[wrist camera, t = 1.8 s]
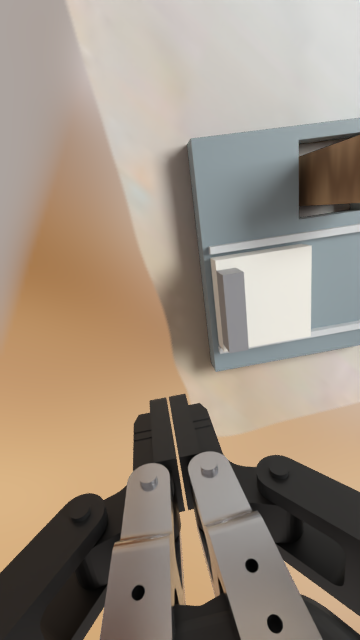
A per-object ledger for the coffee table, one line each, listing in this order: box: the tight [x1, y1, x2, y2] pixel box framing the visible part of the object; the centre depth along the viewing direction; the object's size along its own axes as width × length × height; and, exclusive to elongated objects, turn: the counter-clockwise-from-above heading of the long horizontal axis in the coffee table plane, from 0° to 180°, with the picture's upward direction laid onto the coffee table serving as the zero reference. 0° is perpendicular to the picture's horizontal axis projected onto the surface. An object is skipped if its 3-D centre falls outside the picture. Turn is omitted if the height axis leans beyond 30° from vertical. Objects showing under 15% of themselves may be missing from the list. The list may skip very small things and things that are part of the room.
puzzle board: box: [187, 118, 360, 372], centre depth 28 cm, size 20×17×3 cm
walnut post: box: [299, 135, 360, 206], centre depth 23 cm, size 4×4×9 cm
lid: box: [210, 244, 312, 353], centre depth 26 cm, size 8×8×4 cm
